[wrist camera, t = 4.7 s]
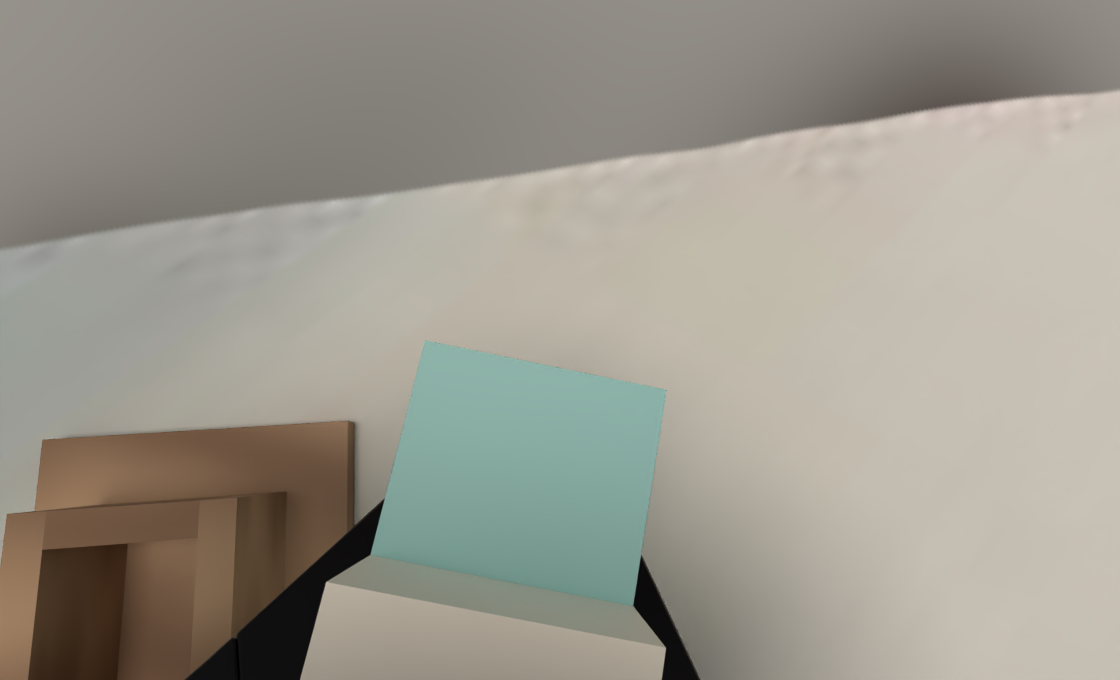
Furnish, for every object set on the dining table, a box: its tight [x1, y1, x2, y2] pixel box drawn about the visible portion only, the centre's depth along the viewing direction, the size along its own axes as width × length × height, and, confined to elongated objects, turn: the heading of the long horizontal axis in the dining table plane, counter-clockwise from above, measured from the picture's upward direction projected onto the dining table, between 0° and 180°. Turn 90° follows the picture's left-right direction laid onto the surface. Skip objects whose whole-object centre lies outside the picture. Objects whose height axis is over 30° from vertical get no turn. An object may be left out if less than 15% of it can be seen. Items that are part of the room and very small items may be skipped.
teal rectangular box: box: [300, 340, 666, 680], centre depth 10 cm, size 7×3×12 cm, turn 169°
